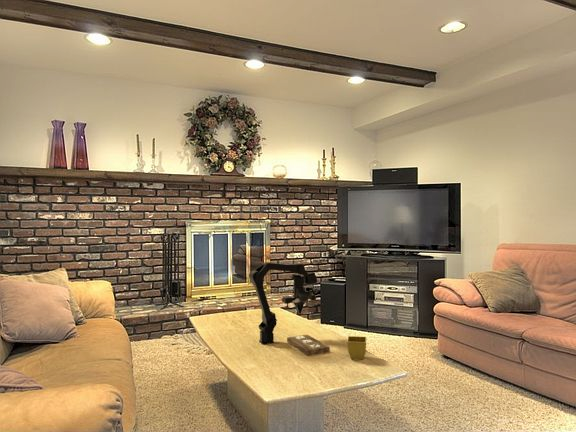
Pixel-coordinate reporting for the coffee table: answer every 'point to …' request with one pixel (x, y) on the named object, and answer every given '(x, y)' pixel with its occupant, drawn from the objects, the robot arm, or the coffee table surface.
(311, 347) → the button three
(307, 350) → the button panel
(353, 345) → the flower pot
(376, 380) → the coffee table surface
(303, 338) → the button one
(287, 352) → the coffee table surface
